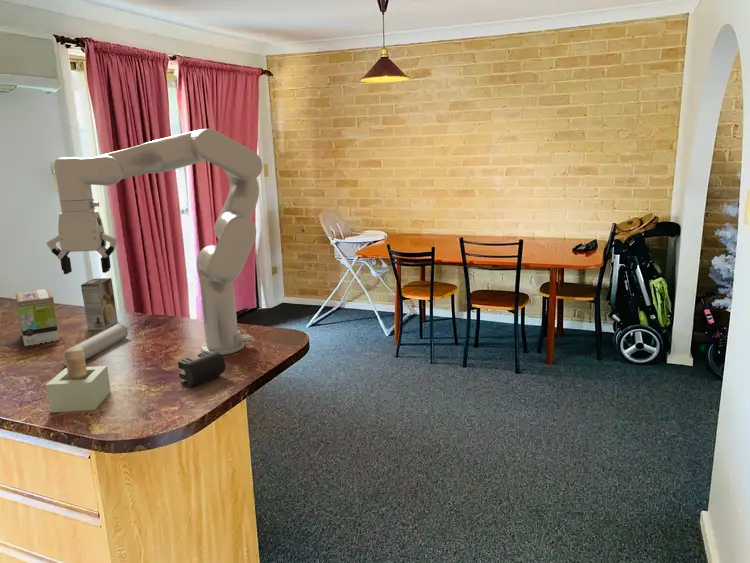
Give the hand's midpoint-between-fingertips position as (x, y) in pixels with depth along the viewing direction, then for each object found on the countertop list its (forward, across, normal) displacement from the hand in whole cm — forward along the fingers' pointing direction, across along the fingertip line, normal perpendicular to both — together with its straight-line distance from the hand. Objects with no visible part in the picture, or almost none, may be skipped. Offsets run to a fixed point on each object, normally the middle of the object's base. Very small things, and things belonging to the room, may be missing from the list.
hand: (87, 272), depth 146 cm
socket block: (+28, -2, +18) cm, 34 cm away
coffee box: (+28, +16, -44) cm, 55 cm away
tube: (+29, +8, -18) cm, 35 cm away
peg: (+27, -2, +18) cm, 33 cm away
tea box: (+29, +32, -34) cm, 55 cm away
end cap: (+29, -29, +9) cm, 42 cm away
